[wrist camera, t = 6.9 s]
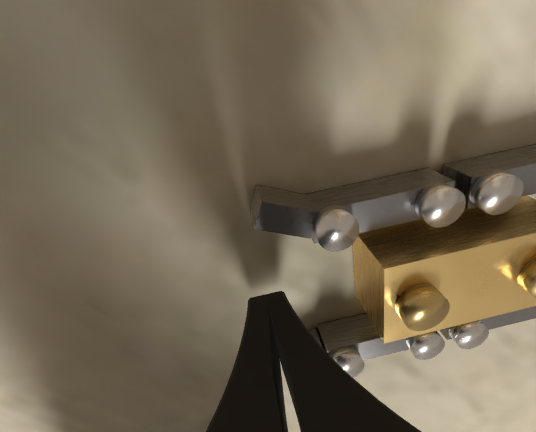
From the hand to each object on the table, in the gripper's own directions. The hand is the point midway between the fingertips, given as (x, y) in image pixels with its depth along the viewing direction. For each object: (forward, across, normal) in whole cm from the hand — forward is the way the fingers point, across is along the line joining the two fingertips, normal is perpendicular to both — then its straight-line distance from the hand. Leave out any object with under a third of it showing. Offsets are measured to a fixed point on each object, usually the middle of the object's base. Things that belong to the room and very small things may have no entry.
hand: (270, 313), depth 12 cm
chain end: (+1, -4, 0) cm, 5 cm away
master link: (+2, -8, 0) cm, 8 cm away
